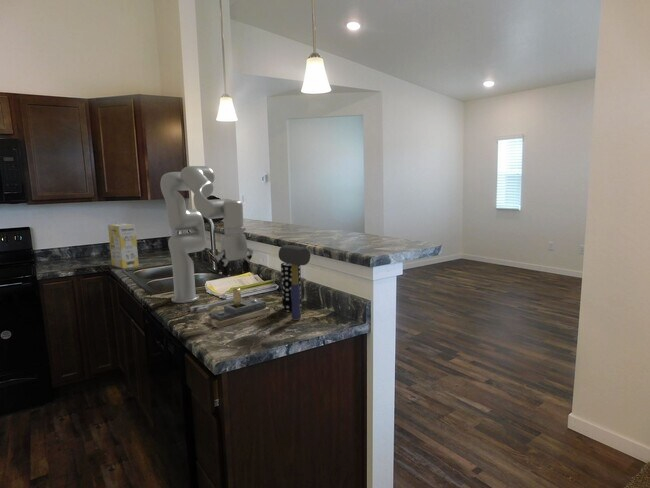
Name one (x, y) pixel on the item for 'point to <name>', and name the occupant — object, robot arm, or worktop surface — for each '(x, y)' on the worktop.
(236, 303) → the brass pin
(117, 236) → the pasta box
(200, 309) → the adjustable wrench
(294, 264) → the rubber mallet
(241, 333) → the worktop surface
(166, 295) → the worktop surface
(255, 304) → the pegged base plate
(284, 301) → the spotted tube
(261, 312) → the oak jig
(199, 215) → the robot arm
